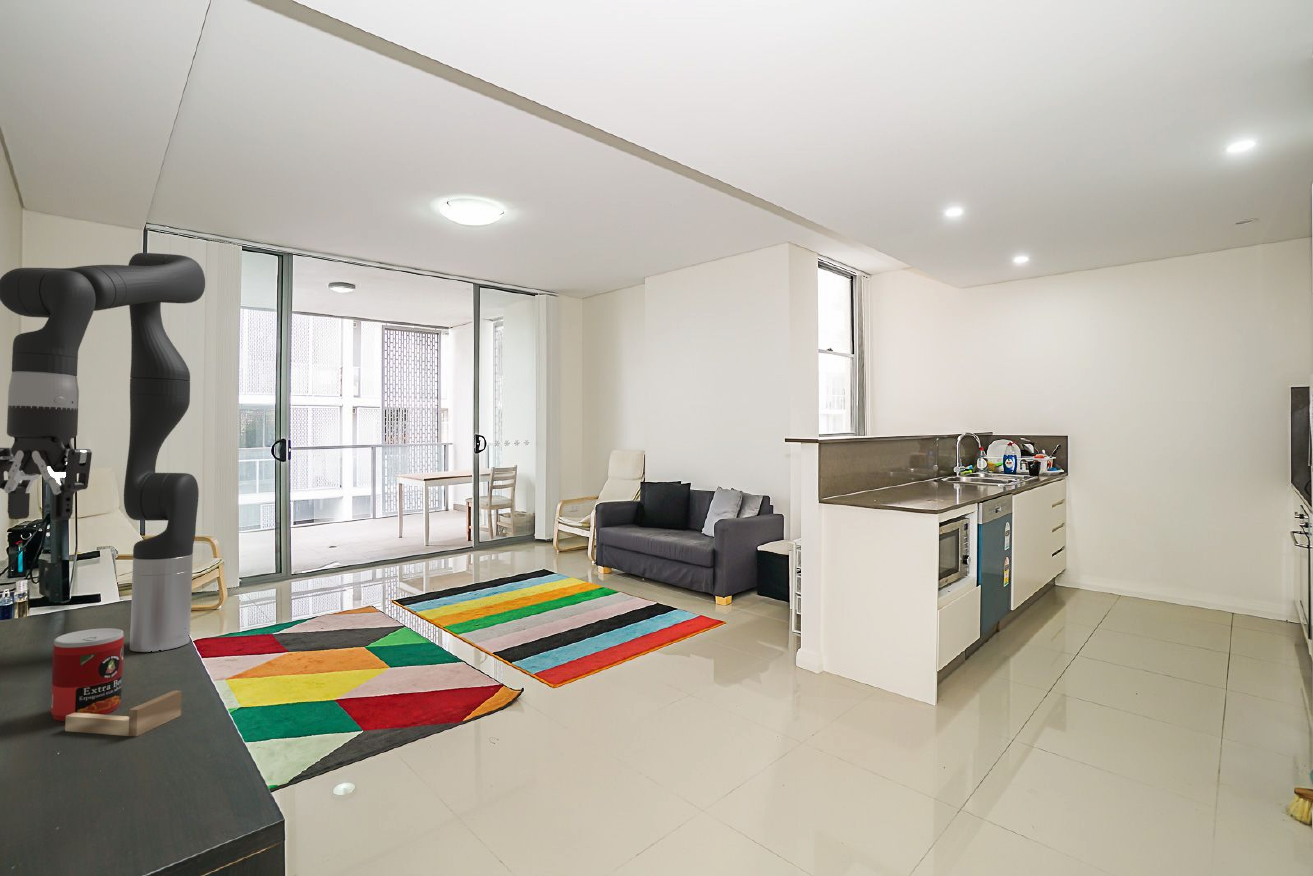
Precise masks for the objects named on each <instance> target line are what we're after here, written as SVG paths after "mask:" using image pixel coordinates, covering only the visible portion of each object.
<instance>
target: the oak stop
mask: <svg viewBox="0 0 1313 876" xmlns="http://www.w3.org/2000/svg"><path fill="white" fill-rule="evenodd" d="M182 695H183V690H178V689H177V690H176V689H175V690H172V691H169V692H166V693H165V694H163V695H159V696H158V697H155V698H153V699H151V700H148V701H146V702H144V703H141V704H138V705H136V706H134V707H132V708H129V711H128V712H129V713H128V714H129V715H128V716H127V715H116V714H115V715H113V714H111V715H110V714H105V715H101V714H88V713H72V714H70V715H67V716H66V721H64V722H65V725H64V729H65V730H64V731H65V732H71V733H72V732H73V733H74V732H75V733H86V734H99V735H101V734H102V735H112V736H124V737H125V736H126V737H135V738H136V737H139V736H141V735H143V734H145V733H147V732H149V731H151V730H154V729H155V728H158V727H160V726H162V725H163V724H166V723H168V722H170V721H172V720H175V719H176V718H178V717H181V716H182V700H183V698H182V697H183V696H182Z"/></svg>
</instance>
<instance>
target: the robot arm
mask: <svg viewBox="0 0 1313 876" xmlns="http://www.w3.org/2000/svg"><path fill="white" fill-rule="evenodd" d="M205 290H206V276H205V273H204V270H203V267H202V266H201V265H200V264H199V263H198V262H197V261H196V260H195V259H194V258H192V257H189V256H186V255H182V254H181V255H180V254H173V253H172V254H170V253H155V252H138V253H135V254H134V255H132V256H131V258H130V259H129V262H128V265H127V264H125V265H124V264H96V265H95V264H93V265H92V264H91V265H82V266H81V265H80V266H74V267H65V268H64V267H62V268H61V267H59V268H58V267H19V268H14V269H11V270H9V271H8V272H6V273H4V274H3V275H2V276H1V277H0V302H1V303H2V305H4V307H6V308H7V309H8V310H9V311H11V312H13V313H14V314H16V315H20V316H23V317H28V318H42V319H43V318H45V319H46V318H47V321H46V322H45V324H44V325H43V327H41V328H40V329H37V330H33V331H32V330H31V331H27V332H26V331H25V332H22V333H18V334H17V335H16V336H15V337H14V339H13V342H12V355H11V375H10V381H9V384H8V390H7V393H8V394H7V395H8V397H7V415H6V417H7V419H6V422H7V423H6V434H7V436H8V437H9V438H14V440H13V444H12V446H11V447H0V489H1V490H4V493H7V514H8V519H10V520H21V519H23V520H24V519H28V518H29V516H30V501H31V500H30V499H31V494H30V492H29V491H30V490H31V489H30V488H31V487H32V485H33V483H34V482H35V481H36V480H38V479H39V478H40V476H42V478H43V480H44V481H45V482H47V483H48V484H49V486H50V488H51V491H52V493H53V494H52V495H51V517H50V518H51V520H52V521H55V522H56V521H59V522H60V521H67V520H70V519H71V518H72V517H71V516H72V515H73V512H74V511H73V507H74V494H76V492H79V491H82V490H84V491H85V490H87V488H88V486H89V479H90V473H91V472H90V470H91V464H92V463H91V462H92V457H93V456H92V454H93V451H92V449H89V448H86V449H85V448H73V445H72V439H74V438H76V437H77V436H78V424H79V423H78V422H79V400H80V399H79V398H80V397H79V396H80V389H79V384H78V383H79V382H78V364H79V363H78V360H79V350H80V346H81V344H82V342H83V339H84V338H85V337H84V336H85V333H86V332H87V328H88V325H89V323H90V321H91V318H92V316H93V314H94V312H99V311H102V310H103V311H105V310H111V309H115V308H120V307H125V306H128V310H129V319H130V329H131V330H130V332H131V333H130V334H131V335H130V338H131V340H130V341H131V345H130V346H131V351H130V357H131V359H130V373H129V374H130V375H129V412H130V414H129V416H130V417H129V424H130V425H129V442H128V443H129V445H128V452H127V462H126V469H125V477H124V485H123V486H124V488H123V506H124V511H125V513H126V515H127V516H128V517H129V518H130V519H131V520H133V521H142V522H143V521H147V522H149V521H151V522H152V521H167V524H166V528H165V529H164V530H163V531H162V532H161V533H158V534H156V535H154V536H152V537H148V538H145V539H142V540H139V541H137V542H135V544H134V545H133V549H132V571H131V572H132V574H131V575H132V582H131V605H130V606H131V607H130V608H131V611H130V630H129V631H130V633H129V650H130V651H132V652H138V653H139V652H140V653H150V652H151V651H152V652H160V651H159V650H161V651H167V650H172V649H175V648H179V647H182V646H185V645H187V644H189V643H190V642H191V640H190V639H191V620H192V619H191V618H192V592H193V591H192V588H193V587H192V586H193V564H194V563H193V561H194V560H193V558H194V557H193V556H194V554H193V552H194V543H195V538H196V531H197V530H196V529H197V528H196V527H197V515H198V514H197V513H198V506H199V492H200V491H199V486H198V485H199V484H198V481H197V479H196V477H195V476H194V475H192V473H191V474H190V473H187V472H156V466H157V460H158V456H159V452H160V450H161V447H162V445H163V444H164V443H165V440H166V439H167V438H168V436H169V435H170V434H171V432H172V431H173V430H174V429H175V428H176V426H177V425H178V424H179V422H181V420H182V419H183V418H184V416H185V414H186V413H187V411H188V409H189V407H190V401H191V373H190V369H189V367H188V365H187V363H186V362H185V360H184V359H183V356H182V355H181V353H180V352H179V351H178V350H177V348H176V347H175V345H174V344H173V342H172V341H171V339H170V338H169V336H168V335H167V332H166V330H165V328H164V325H163V319H162V311H161V310H162V309H161V308H162V307H161V303H167V304H190V303H191V304H192V303H194V302H197V301H198V300H200V299H201V298H202V297H203V294H204V292H205ZM5 472H6V473H7V477H8V479H5ZM77 475H78V479H77V481H76V477H77ZM20 481H21V482H20ZM61 482H62V483H63V484H62V483H61ZM185 628H186V629H185ZM187 632H188V633H187ZM188 634H189V636H190V638H189V636H188Z"/></svg>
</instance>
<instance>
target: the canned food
mask: <svg viewBox="0 0 1313 876" xmlns="http://www.w3.org/2000/svg"><path fill="white" fill-rule="evenodd" d="M53 641H54V642H53V646H52V647H53V651H52V674H51V675H52V678H51V701H50V713H51V716H52V717H53V720H55V721H60V722H66V716H67V715H70V714H72V713H88V714H101V715H109V714H110V713H111V712H114V711H116V710H117V709H118V708H119V707H120V704H121V702H122V690H123V687H122V686H123V668H124V667H123V666H124V645H125V642H124V641H125V636H124V631H123V630H122V629H119V628H114V627H113V628H111V627H109V628H107V627H106V628H104V627H103V628H92V629H85V630H77V631H72V632H68V633H65V634H62V635H59V636H58V637H56V638H54V640H53Z"/></svg>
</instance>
